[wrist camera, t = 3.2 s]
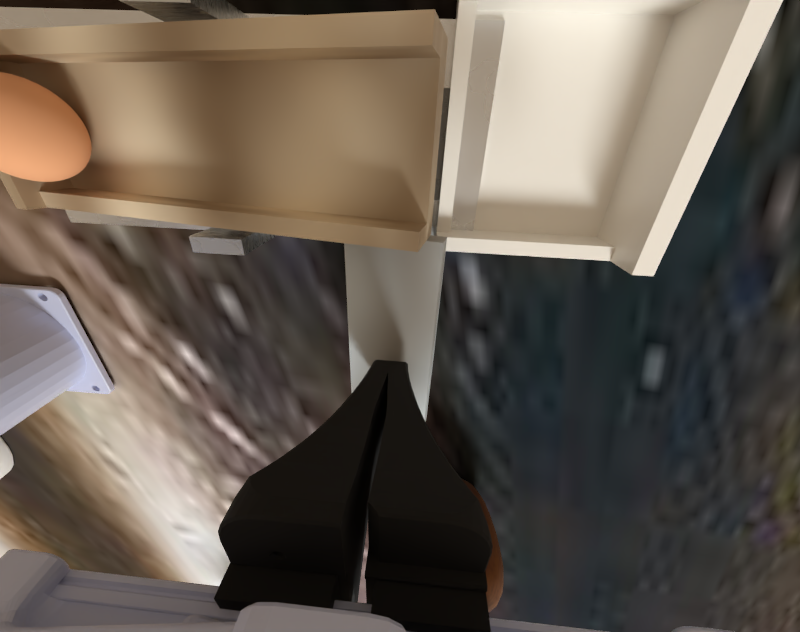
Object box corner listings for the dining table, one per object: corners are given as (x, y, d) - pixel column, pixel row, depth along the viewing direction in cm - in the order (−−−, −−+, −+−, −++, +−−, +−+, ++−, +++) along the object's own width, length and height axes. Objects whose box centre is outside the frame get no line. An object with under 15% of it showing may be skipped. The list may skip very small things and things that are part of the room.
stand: (82, 219, 16) (-25, 243, 12) (-12, 12, 12) (-211, -48, 8) (469, 242, 15) (483, 275, 11) (501, 26, 11) (540, -34, 8)
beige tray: (159, 353, 19) (112, 383, 17) (28, 39, 12) (-89, 12, 9) (426, 416, 15) (414, 464, 13) (471, 23, 8) (462, -26, 6)
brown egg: (67, 175, 13) (-45, 182, 10) (25, 80, 12) (-119, 60, 9) (127, 180, 12) (24, 189, 10) (91, 80, 11) (-44, 59, 8)
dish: (434, 238, 15) (437, 262, 12) (458, -10, 11) (471, -70, 8) (605, 248, 15) (653, 276, 12) (699, -4, 11) (813, -65, 7)
